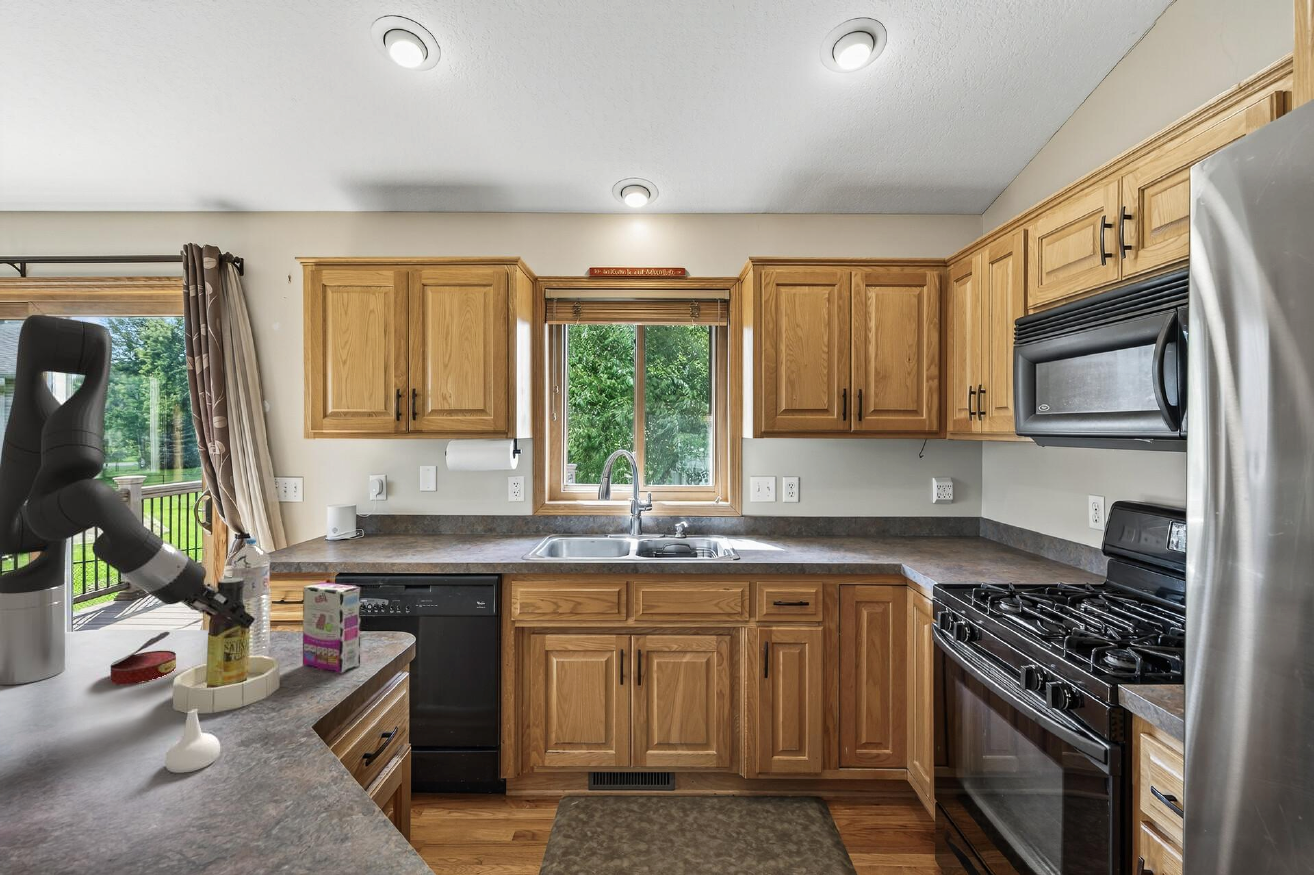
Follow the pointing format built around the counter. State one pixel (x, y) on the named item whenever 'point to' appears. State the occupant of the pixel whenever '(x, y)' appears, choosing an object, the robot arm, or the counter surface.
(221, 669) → the sauce bottle
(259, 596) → the water bottle
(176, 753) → the garlic bulb
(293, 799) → the counter surface
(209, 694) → the bowl
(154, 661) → the canned food
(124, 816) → the counter surface
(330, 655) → the candy bar box
